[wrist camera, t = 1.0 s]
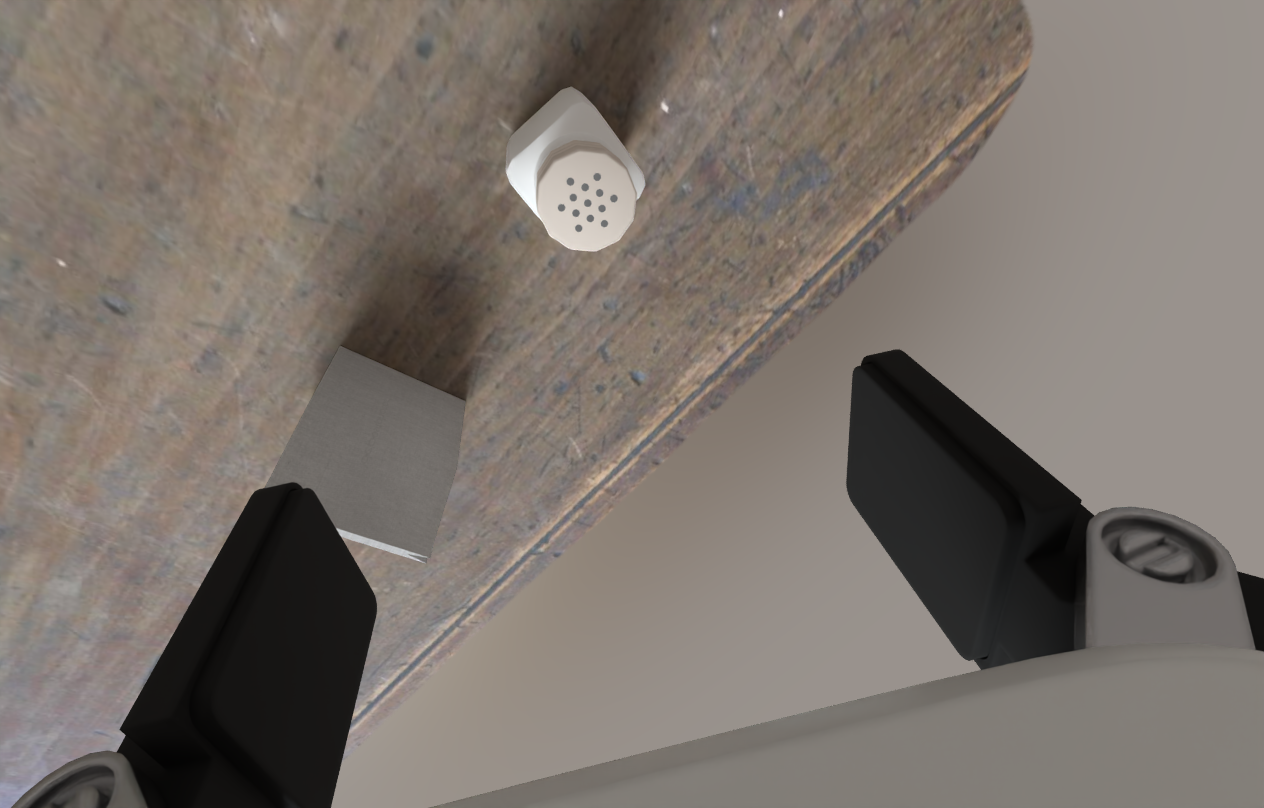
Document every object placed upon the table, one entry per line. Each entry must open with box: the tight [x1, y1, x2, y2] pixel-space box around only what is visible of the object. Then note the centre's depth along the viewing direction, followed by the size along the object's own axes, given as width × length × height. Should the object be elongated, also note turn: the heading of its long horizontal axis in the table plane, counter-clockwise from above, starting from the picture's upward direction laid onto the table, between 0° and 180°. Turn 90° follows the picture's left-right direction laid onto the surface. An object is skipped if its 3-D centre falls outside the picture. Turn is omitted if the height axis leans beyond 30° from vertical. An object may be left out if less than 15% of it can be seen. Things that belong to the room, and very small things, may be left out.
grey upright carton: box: [265, 346, 466, 563], centre depth 28 cm, size 4×7×10 cm, turn 55°
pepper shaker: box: [506, 86, 646, 252], centre depth 23 cm, size 4×4×10 cm
